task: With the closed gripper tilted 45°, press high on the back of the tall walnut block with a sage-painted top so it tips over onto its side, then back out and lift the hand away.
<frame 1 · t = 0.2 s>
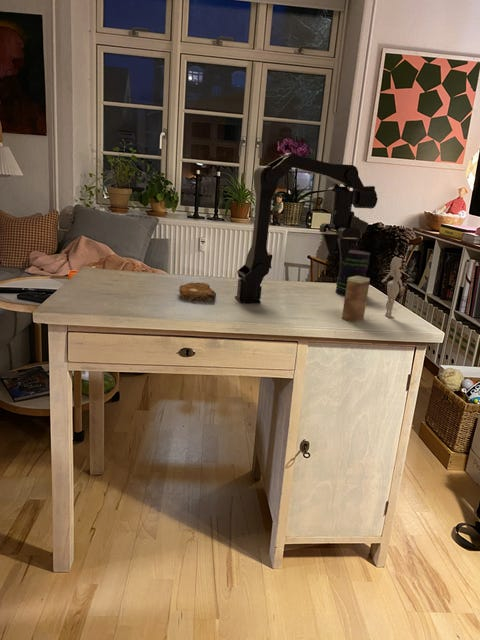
hand: (337, 258, 159), 14 cm above the table, tool pointing down, fingers open, 9 cm apart
decorative rock: (196, 297, 155), on the table
human figurine: (387, 317, 151), on the table
walnut block: (352, 318, 145), on the table
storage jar: (349, 294, 177), on the table
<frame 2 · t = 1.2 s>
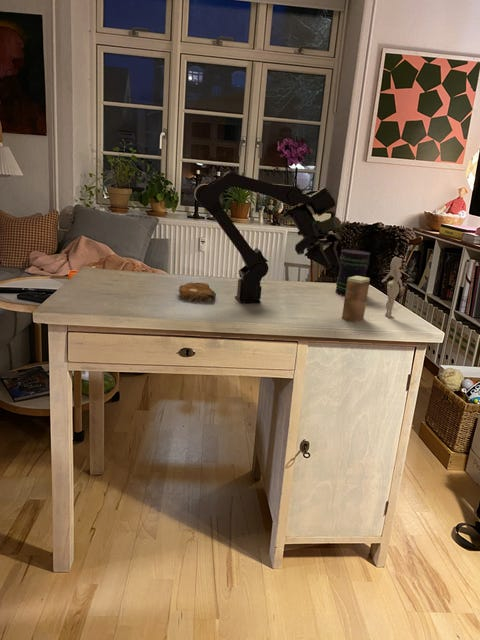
hand: (334, 267, 146), 14 cm above the table, tool tilted 45°, fingers open, 5 cm apart
nothing on the table moved.
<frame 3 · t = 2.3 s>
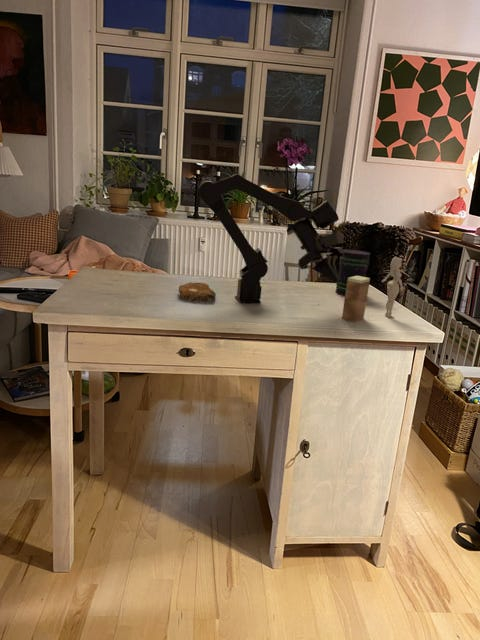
hand: (337, 281, 146), 10 cm above the table, tool tilted 45°, fingers closed
nothing on the table moved.
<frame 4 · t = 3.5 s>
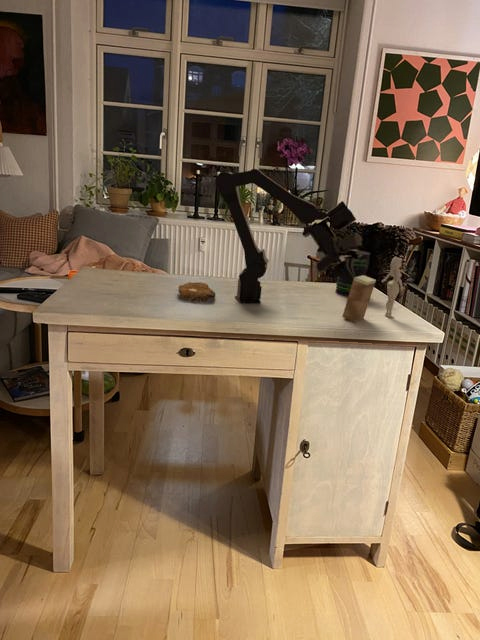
hand: (355, 284, 143), 10 cm above the table, tool tilted 45°, fingers closed
walnut block: (352, 317, 145), on the table, tilted 9°
everything else where it was.
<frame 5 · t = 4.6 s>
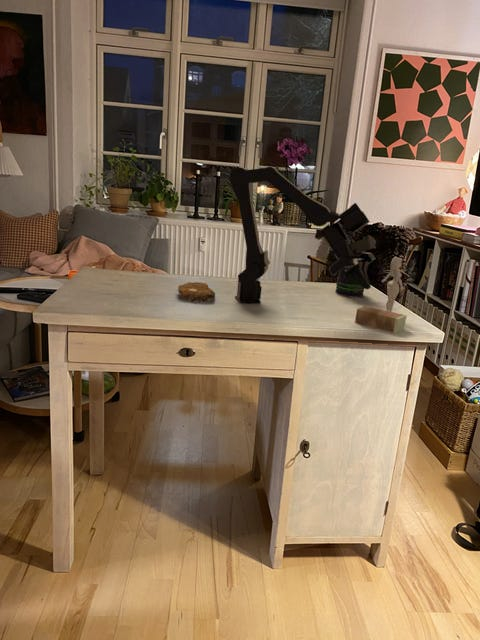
hand: (368, 288, 141), 10 cm above the table, tool tilted 45°, fingers closed
walnut block: (360, 314, 144), point 2 cm above the table, tilted 90°
everything else where it was.
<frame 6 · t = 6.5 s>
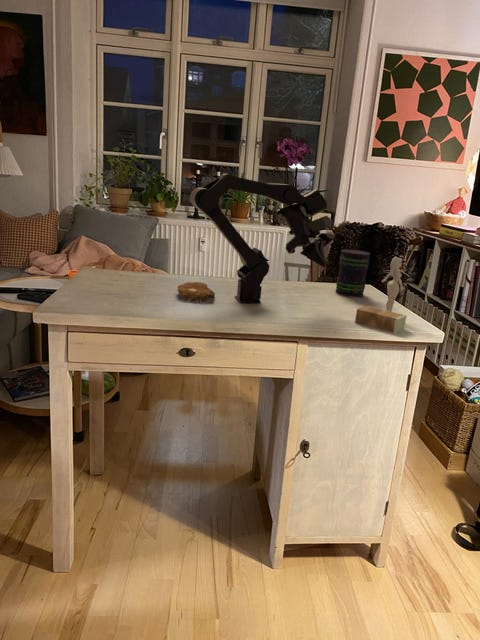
hand: (325, 266, 148), 13 cm above the table, tool tilted 45°, fingers closed
nothing on the table moved.
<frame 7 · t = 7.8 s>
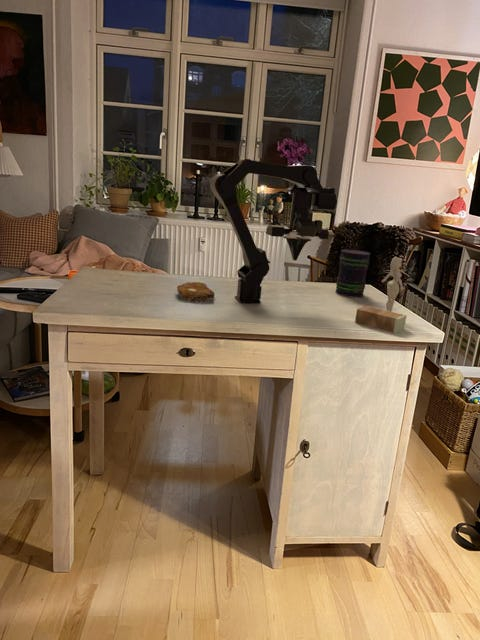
hand: (294, 260, 156), 13 cm above the table, tool pointing down, fingers closed
nothing on the table moved.
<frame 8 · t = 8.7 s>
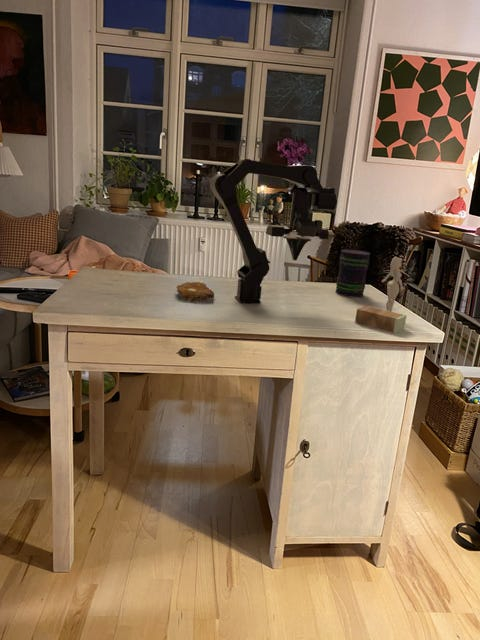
hand: (294, 260, 156), 13 cm above the table, tool pointing down, fingers closed
nothing on the table moved.
at the end: walnut block tilted 90°; walnut block touching table; the gripper is holding nothing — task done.
